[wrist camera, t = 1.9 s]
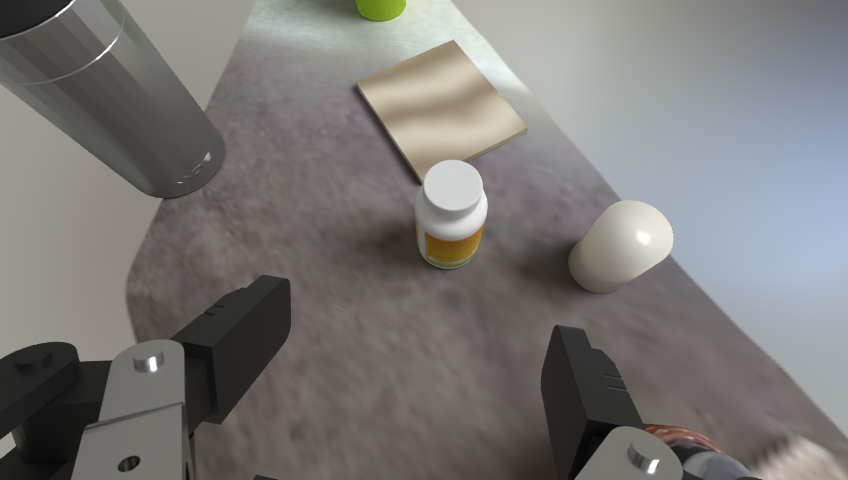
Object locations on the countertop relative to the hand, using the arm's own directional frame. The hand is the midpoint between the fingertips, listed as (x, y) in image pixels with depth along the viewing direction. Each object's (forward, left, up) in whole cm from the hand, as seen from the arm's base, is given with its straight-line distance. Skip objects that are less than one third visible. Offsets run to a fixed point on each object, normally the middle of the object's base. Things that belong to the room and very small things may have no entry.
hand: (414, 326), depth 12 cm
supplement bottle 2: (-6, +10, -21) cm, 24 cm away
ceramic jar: (+5, +17, -21) cm, 27 cm away
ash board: (-16, +21, -20) cm, 33 cm away
